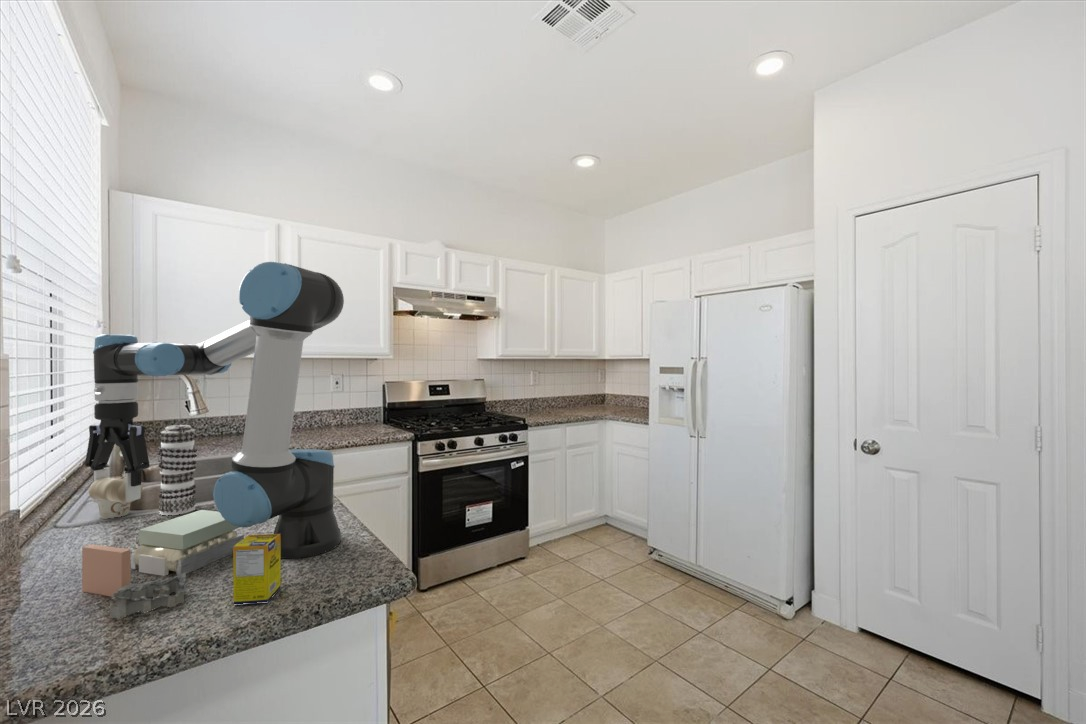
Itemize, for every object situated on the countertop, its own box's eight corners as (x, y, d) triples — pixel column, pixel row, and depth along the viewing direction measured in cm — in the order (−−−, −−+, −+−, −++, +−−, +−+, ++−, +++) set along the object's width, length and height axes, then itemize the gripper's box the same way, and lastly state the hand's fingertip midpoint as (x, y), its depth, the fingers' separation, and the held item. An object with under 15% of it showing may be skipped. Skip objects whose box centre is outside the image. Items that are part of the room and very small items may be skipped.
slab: (241, 526, 111) (241, 514, 111) (182, 549, 98) (182, 535, 98) (200, 522, 114) (201, 509, 114) (139, 543, 101) (139, 529, 101)
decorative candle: (153, 511, 137) (154, 425, 137) (192, 504, 144) (192, 422, 144) (161, 518, 131) (161, 429, 131) (200, 510, 139) (201, 425, 138)
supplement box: (281, 588, 92) (281, 532, 92) (267, 604, 86) (268, 544, 86) (248, 590, 91) (248, 534, 91) (232, 606, 85) (232, 546, 85)
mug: (100, 522, 128) (100, 485, 128) (85, 514, 135) (85, 479, 135) (139, 514, 135) (139, 479, 135) (122, 506, 142) (122, 473, 142)
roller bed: (243, 548, 111) (243, 526, 111) (178, 577, 96) (178, 552, 96) (198, 542, 115) (198, 521, 115) (128, 569, 100) (128, 545, 100)
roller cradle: (168, 574, 98) (168, 557, 98) (126, 592, 90) (126, 574, 90) (142, 570, 99) (142, 553, 99) (98, 588, 92) (98, 570, 91)
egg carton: (104, 624, 80) (104, 600, 80) (115, 604, 86) (115, 582, 86) (183, 606, 85) (183, 584, 85) (188, 589, 92) (188, 568, 92)
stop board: (130, 594, 89) (130, 549, 89) (121, 598, 88) (121, 552, 88) (91, 587, 92) (91, 544, 92) (82, 591, 90) (82, 547, 90)
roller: (143, 497, 110) (141, 476, 110) (119, 506, 106) (117, 484, 105) (114, 494, 113) (112, 474, 112) (90, 503, 108) (87, 482, 107)
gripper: (63, 402, 108) (63, 500, 108) (134, 403, 103) (135, 506, 103) (100, 399, 115) (101, 491, 115) (169, 400, 110) (170, 497, 110)
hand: (117, 498), depth 109 cm, fingers closed on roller, 9 cm apart
